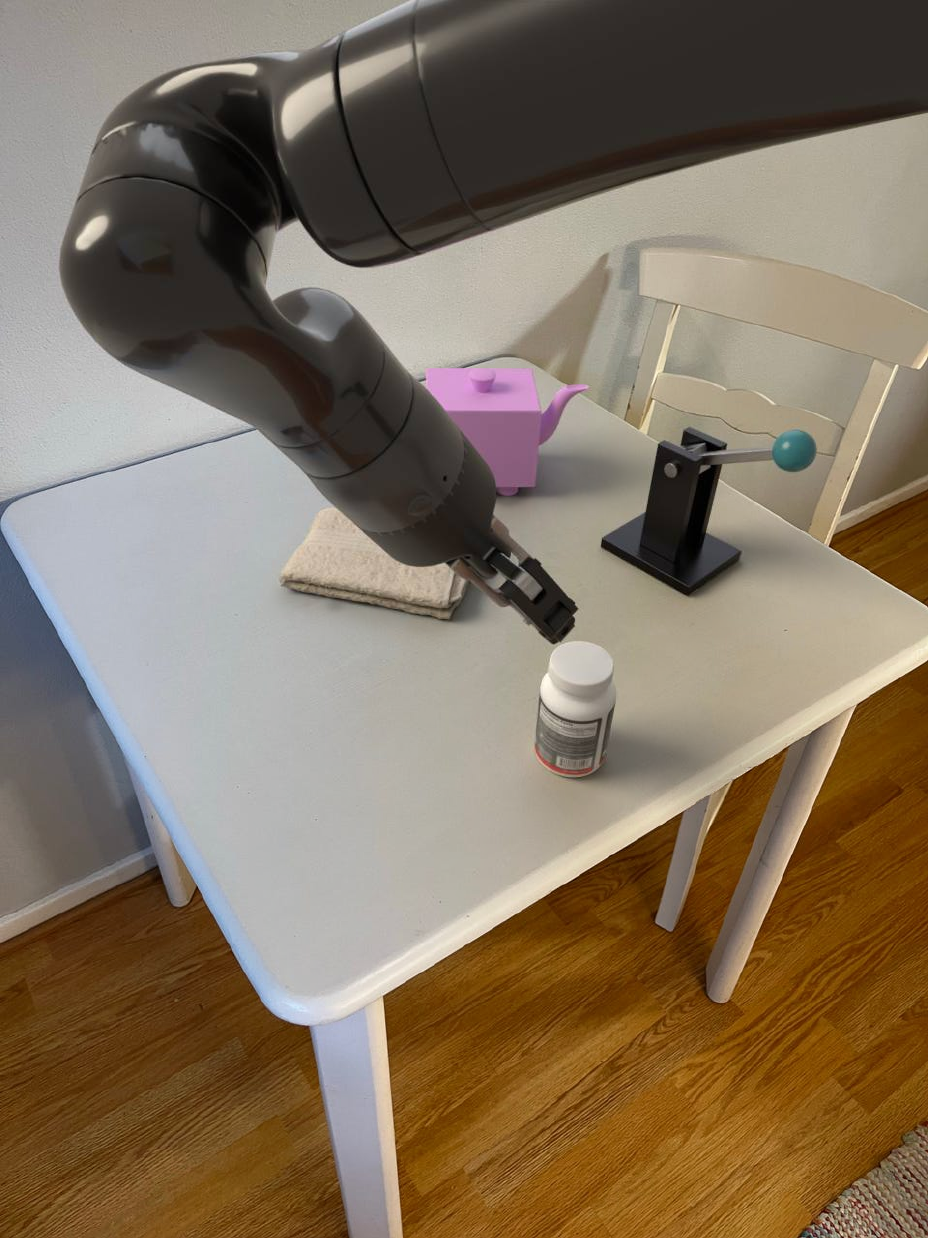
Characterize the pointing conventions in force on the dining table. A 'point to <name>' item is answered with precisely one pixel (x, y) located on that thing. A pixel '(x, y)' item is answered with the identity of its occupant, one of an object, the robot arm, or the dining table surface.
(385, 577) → the washcloth
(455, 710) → the dining table surface
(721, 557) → the bracket
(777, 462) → the lever with teal knob
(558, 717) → the pill bottle
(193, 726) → the dining table surface
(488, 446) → the teapot
